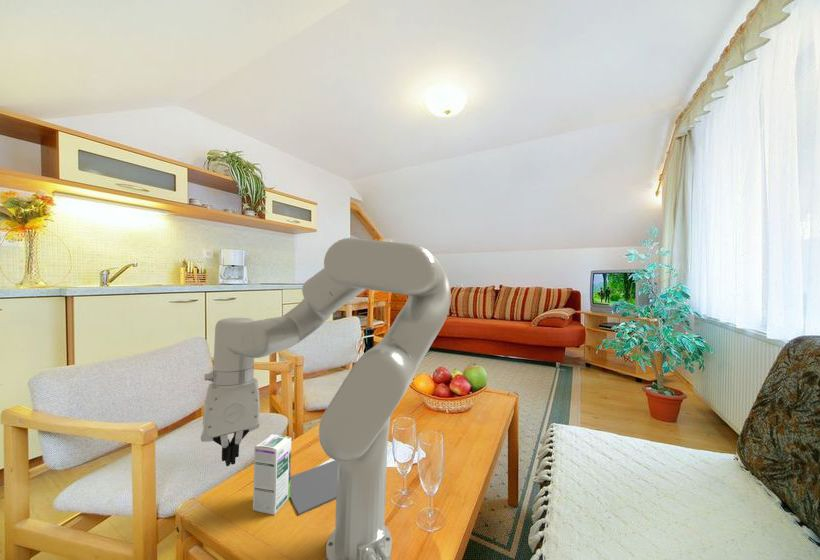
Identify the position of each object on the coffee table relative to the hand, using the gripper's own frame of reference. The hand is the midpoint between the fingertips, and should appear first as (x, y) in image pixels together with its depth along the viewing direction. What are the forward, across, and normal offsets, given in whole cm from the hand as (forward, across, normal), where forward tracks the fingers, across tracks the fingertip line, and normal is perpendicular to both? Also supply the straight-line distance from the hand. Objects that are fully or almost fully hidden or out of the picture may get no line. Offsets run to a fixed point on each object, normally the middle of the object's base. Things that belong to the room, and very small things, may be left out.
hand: (229, 461), depth 63 cm
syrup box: (+13, +9, 0) cm, 15 cm away
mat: (+13, +20, 0) cm, 24 cm away
